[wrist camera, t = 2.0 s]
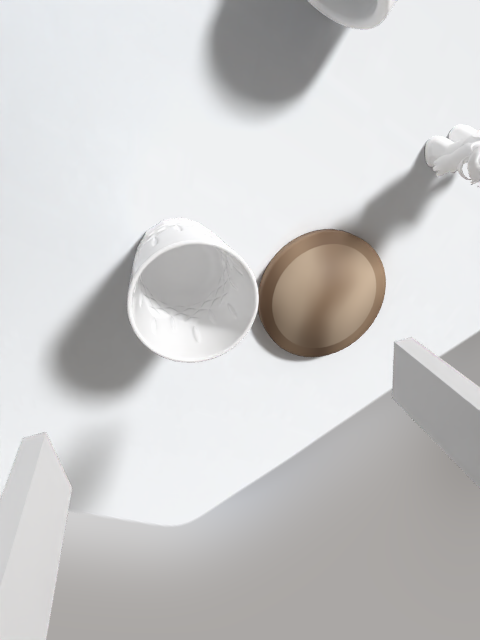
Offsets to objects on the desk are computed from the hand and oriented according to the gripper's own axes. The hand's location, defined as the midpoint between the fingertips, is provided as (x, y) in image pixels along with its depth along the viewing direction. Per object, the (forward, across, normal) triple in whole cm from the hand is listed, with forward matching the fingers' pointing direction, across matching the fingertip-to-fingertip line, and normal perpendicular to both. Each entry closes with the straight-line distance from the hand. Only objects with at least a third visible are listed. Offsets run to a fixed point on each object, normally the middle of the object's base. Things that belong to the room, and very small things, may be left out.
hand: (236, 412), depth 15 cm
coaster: (+20, +12, -6) cm, 24 cm away
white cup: (+20, 0, 0) cm, 21 cm away
